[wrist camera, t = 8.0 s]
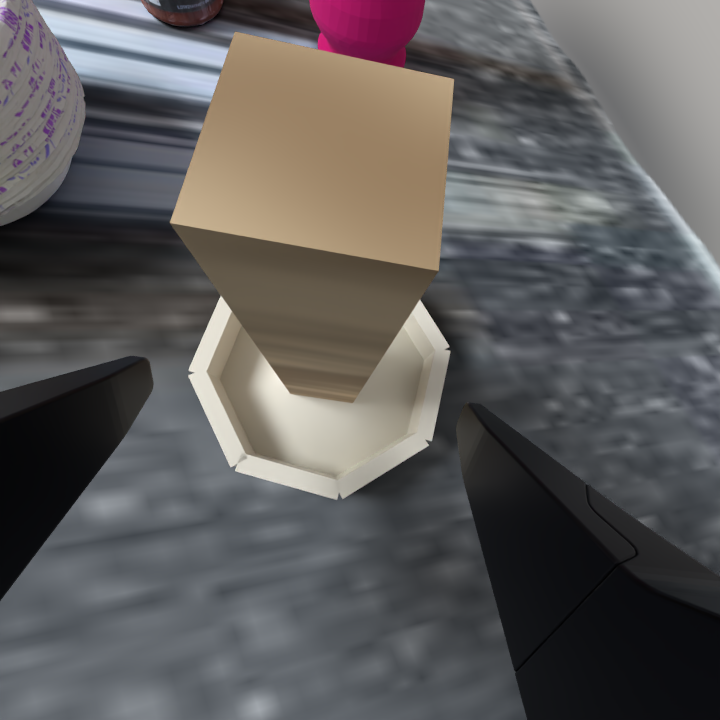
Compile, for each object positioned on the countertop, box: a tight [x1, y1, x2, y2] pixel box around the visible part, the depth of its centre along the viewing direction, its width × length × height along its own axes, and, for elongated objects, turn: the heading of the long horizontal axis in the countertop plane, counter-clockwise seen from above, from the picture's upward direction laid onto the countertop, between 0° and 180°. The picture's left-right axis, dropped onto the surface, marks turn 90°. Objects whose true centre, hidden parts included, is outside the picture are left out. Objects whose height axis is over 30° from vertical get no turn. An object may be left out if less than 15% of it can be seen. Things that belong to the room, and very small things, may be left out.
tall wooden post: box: [170, 32, 454, 403], centre depth 11 cm, size 3×3×14 cm
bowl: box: [188, 296, 451, 500], centre depth 17 cm, size 12×12×2 cm
